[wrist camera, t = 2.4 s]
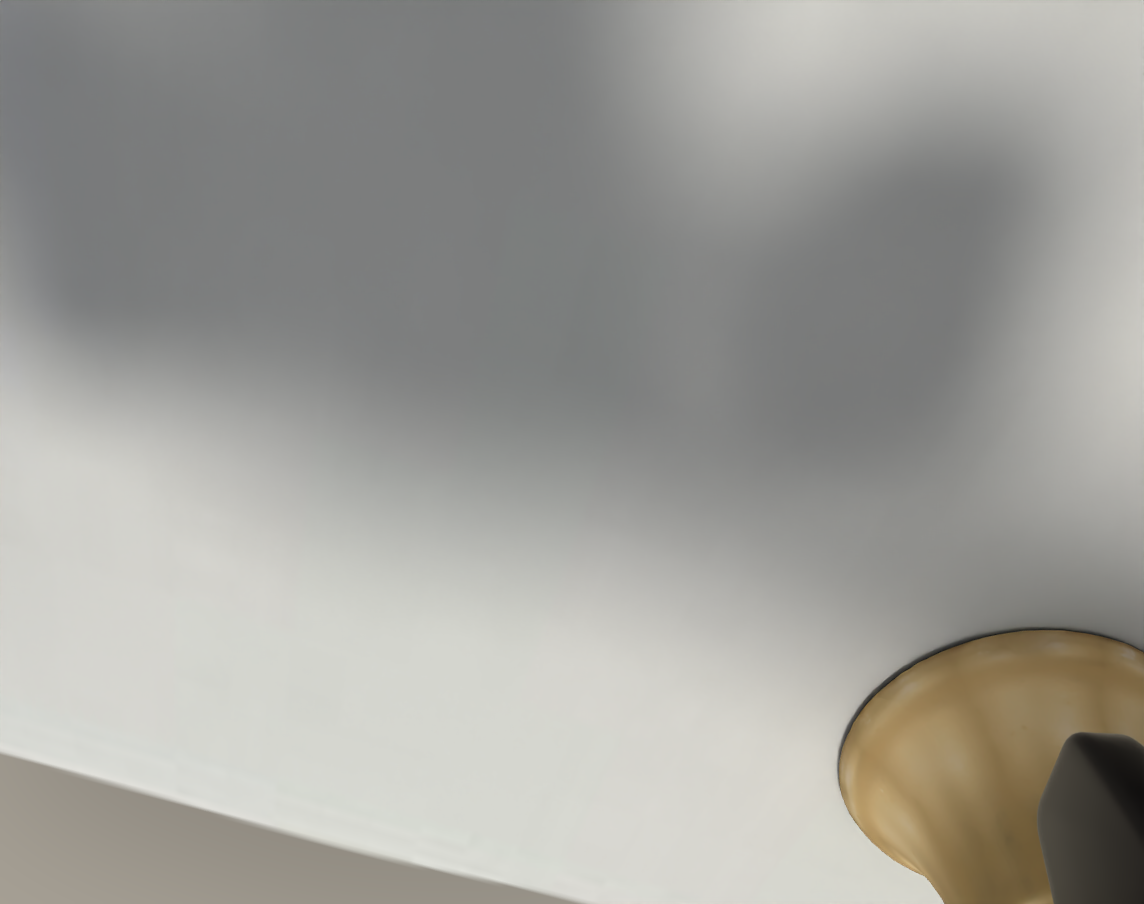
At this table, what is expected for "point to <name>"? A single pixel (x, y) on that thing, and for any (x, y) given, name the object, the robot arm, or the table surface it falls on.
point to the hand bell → (983, 755)
